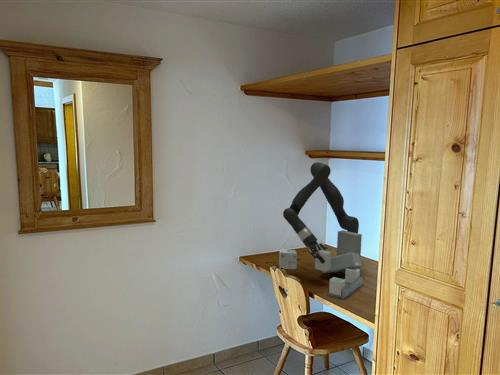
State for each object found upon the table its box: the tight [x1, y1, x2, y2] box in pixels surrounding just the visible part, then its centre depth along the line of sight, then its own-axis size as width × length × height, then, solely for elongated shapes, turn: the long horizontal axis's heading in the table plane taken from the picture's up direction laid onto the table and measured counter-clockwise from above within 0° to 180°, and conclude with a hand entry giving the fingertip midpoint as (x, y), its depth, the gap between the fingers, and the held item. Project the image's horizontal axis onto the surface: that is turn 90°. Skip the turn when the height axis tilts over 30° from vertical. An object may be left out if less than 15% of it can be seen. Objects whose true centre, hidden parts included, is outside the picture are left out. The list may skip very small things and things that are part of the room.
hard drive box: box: [321, 253, 363, 274], centre depth 230 cm, size 16×8×20 cm
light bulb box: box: [278, 249, 298, 270], centre depth 248 cm, size 11×7×11 cm, turn 92°
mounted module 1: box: [328, 276, 345, 296], centre depth 203 cm, size 5×6×7 cm
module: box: [314, 249, 332, 272], centre depth 219 cm, size 5×7×10 cm
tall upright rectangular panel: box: [336, 229, 362, 275], centre depth 239 cm, size 14×6×25 cm, turn 41°
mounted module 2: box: [344, 267, 361, 283], centre depth 220 cm, size 5×6×7 cm
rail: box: [327, 276, 364, 300], centre depth 212 cm, size 26×9×4 cm, turn 144°
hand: (326, 261), depth 218 cm, fingers closed on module, 5 cm apart
